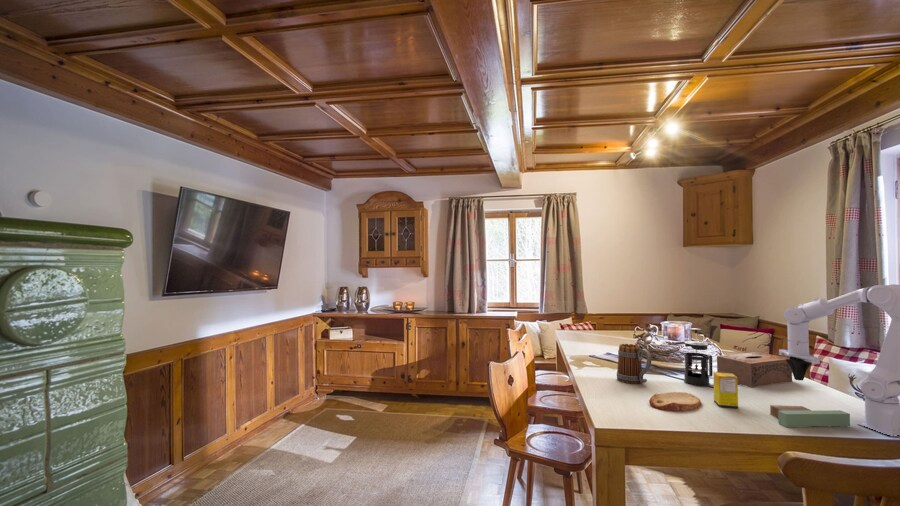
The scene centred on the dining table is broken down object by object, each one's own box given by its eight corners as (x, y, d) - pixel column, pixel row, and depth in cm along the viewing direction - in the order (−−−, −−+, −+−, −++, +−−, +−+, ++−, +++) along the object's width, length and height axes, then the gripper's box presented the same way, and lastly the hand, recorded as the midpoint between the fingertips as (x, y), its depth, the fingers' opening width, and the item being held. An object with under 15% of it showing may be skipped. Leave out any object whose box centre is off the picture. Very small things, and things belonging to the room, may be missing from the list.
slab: (817, 423, 130) (816, 412, 130) (783, 422, 131) (783, 411, 131) (802, 416, 136) (802, 406, 136) (770, 415, 137) (770, 405, 137)
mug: (611, 378, 180) (610, 344, 180) (628, 376, 184) (628, 342, 185) (641, 388, 166) (640, 351, 166) (659, 385, 170) (659, 349, 171)
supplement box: (732, 403, 148) (731, 372, 149) (738, 408, 143) (738, 377, 143) (713, 401, 150) (712, 371, 150) (718, 407, 144) (718, 375, 145)
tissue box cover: (757, 373, 190) (756, 351, 191) (792, 382, 177) (791, 358, 177) (717, 378, 181) (716, 356, 182) (751, 388, 168) (750, 363, 168)
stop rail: (850, 426, 127) (849, 413, 127) (786, 427, 127) (786, 414, 127) (840, 423, 130) (840, 410, 130) (778, 423, 130) (778, 410, 130)
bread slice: (697, 399, 154) (696, 389, 154) (711, 416, 136) (710, 405, 137) (644, 394, 159) (644, 384, 159) (651, 410, 142) (651, 399, 142)
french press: (691, 386, 169) (690, 330, 169) (677, 380, 178) (677, 326, 179) (719, 386, 169) (718, 330, 170) (704, 379, 179) (703, 326, 179)
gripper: (770, 337, 153) (771, 374, 152) (805, 345, 138) (805, 385, 138) (789, 337, 153) (790, 374, 153) (825, 345, 138) (826, 385, 138)
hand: (798, 379), depth 145 cm, fingers closed
